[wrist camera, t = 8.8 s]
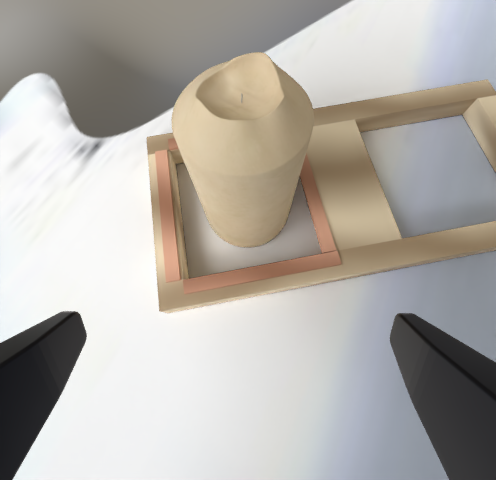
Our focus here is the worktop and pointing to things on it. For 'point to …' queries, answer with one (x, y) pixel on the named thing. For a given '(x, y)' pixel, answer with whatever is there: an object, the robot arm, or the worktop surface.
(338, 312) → the worktop surface
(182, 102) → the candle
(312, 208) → the rail frame
